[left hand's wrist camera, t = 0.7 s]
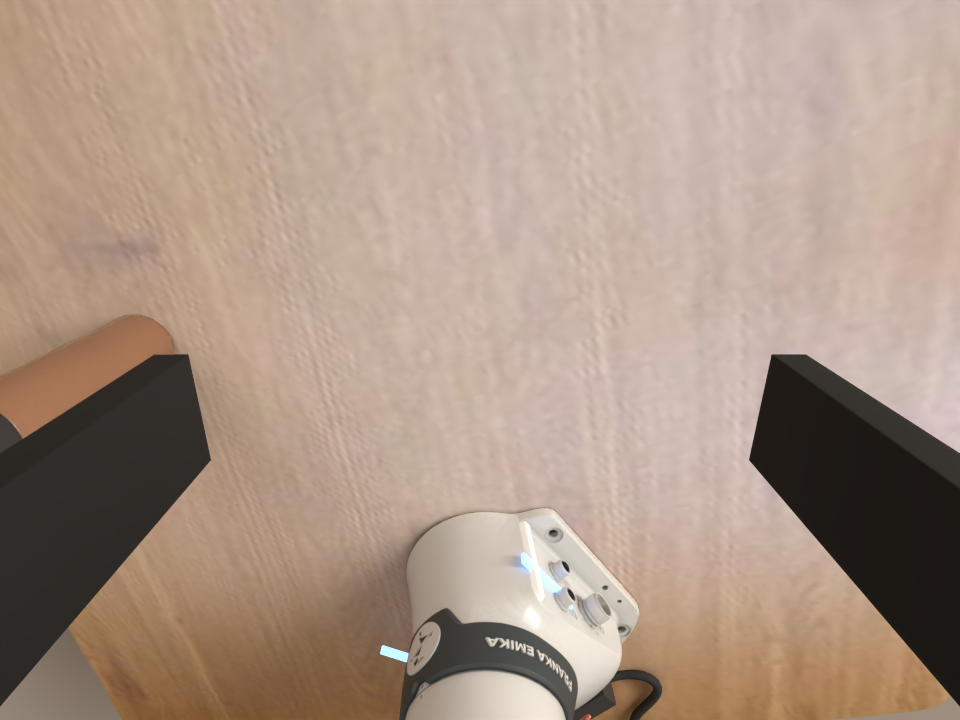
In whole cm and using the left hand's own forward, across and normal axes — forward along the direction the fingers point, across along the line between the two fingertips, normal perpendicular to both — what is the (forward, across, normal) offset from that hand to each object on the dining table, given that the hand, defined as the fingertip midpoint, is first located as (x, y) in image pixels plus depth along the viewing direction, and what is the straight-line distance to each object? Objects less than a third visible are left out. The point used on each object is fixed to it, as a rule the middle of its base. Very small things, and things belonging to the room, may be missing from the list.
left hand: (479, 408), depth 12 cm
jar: (+28, -26, -9) cm, 39 cm away
